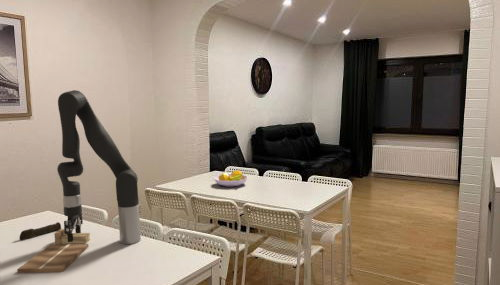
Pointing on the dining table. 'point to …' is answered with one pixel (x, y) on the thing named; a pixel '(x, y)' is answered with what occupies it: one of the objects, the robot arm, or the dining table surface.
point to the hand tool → (39, 231)
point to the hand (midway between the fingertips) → (74, 238)
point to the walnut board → (53, 258)
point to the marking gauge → (77, 237)
